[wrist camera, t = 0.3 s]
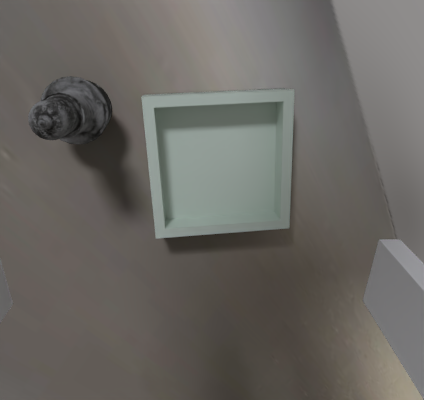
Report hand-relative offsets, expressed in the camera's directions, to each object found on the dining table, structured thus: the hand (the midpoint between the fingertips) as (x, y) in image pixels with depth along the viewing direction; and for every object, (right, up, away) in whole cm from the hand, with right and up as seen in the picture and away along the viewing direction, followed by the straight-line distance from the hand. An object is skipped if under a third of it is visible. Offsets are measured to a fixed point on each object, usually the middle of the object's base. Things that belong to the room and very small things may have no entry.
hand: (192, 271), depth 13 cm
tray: (+1, +7, +25) cm, 26 cm away
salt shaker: (-12, +12, +23) cm, 28 cm away
